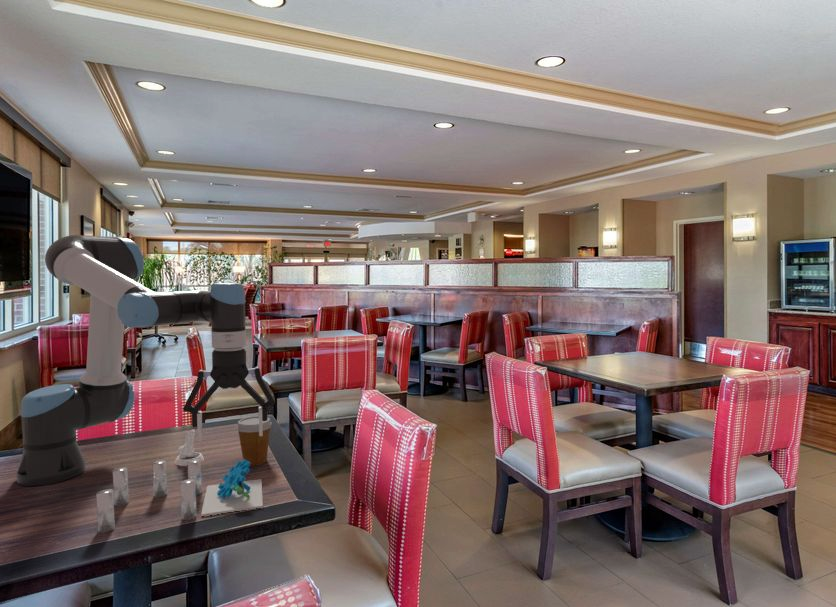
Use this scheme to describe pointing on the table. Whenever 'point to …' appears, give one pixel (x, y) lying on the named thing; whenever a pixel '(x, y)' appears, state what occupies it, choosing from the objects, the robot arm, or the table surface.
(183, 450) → the hook
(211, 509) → the rubber mat
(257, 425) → the disposable coffee cup
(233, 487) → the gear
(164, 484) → the spacer posts
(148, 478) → the table surface
